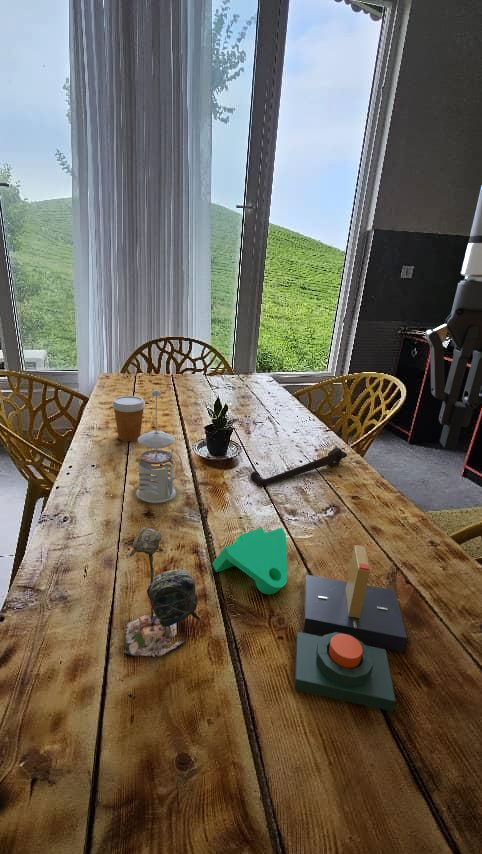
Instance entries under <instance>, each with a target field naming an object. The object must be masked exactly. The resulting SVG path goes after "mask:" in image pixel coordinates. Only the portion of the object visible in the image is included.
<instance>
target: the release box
mask: <svg viewBox="0 0 482 854" xmlns="http://www.w3.org/2000/svg"><path fill="white" fill-rule="evenodd" d="M337 634H343V633H338V632H335V633H331V634H327V635H324V636H321V635H316V634H311V633H306V632H301V631H297V632H296V639H295V653H294V654H295V656H294V677H293V678H294V679H293V680H294V682H293V690H295V691H299V692H304V693H307V694H313V695H317V696H322V697H327V698H331V699H336V700H339V701H344V702H348V703H353V704H357V705H362V706H365V707H371V708H374V709H379V710H383V711H389V712H394V708H395V705H396V702H397V701H396V696H395V690H394V684H393V679H392V675H391V669H390V665H389V664H390V663H389V659H388V655H387V649H386V648H381V647H376V646H371V645H366V644H364V643H363V642H361V641H359V640H358V639H356V638H355V639H356V640H358V641H359V643H360V644H361V646H362V649H363V652H362V657H361V661H360V664H359V665H358V666H357V667H355V668H344V667H341V666H339V665H338V664H336V663H335V662H334V661H333V660H332V659H331V657H330V655H329V647H330V642H331V639H332V637H333V636H335V635H337ZM347 635H348V634H347ZM350 636H351V635H350ZM352 637H353V636H352Z"/></svg>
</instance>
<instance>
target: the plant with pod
mask: <svg viewBox="0 0 482 854" xmlns="http://www.w3.org/2000/svg"><path fill="white" fill-rule="evenodd" d="M162 537H163V536H162V533H161V531H157V530H155V529H153V528H151V527H147V526H142V527H139V530H138V531H137V535H136V537H135V538H134V540H133V542H132V544H131V545H132V548H133V549H132V550H131V553H129V557H133V556H135V554H136V553H144V554H146V555H148V562H149V569H150V581H149V583H148V585H147V589H146V594H147V596H148V598H149V603H150V607H151V608H150V614H145V615H141V616H139V617H138V618H137V619H134V620H132V621H129V622H128V623H127V625H125V626H124V629H123V631H125V632H124V635H125V639H124V644H125V646H124V649H125V650H123V652H124V653H125V654H127V655H129V656H134V657H135V656H138V657H142V656H143V657H144V656H145V657H148V656H149V657H151V656H152V657H153V658H156V657H157V658H159V657H162V656H163V655H166V653H168V652H170V651H171V650H174V649H176V648H178V646H180V645H183V644H184V643H185V641H186V640H182V641H176V642H175V643H174V644H172V641H171V640H172V639H173V638H174V637H175V636H176V635H177V634H178V632H177V631H178V630H177V623H182V622H184V621H185V620H187V619H188V618H189V617H190V615H191V616H192V617H193V618H194V619H195V620H197V621H199V622H202V617H201V616H200V615H198V614H197V613H196V612H195V611H196V610H197V606H198V604H199V602H198V595H197V590H196V584H195V579H194V578H192V576H191V575H190V572H189V571H187V570H184V569H180V568H179V569H171V570H167V571H163V572H161V573H160V574H157V575H156V577H155V576H154V575H155V573H154V571H155V570H154V556H153V555H154V554H155V553H156V552H157V550H158V549H159V547H160V543H161V540H162ZM167 646H170V647H168V648H165V647H167Z"/></svg>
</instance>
